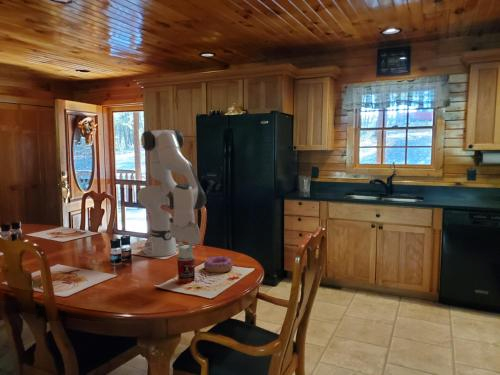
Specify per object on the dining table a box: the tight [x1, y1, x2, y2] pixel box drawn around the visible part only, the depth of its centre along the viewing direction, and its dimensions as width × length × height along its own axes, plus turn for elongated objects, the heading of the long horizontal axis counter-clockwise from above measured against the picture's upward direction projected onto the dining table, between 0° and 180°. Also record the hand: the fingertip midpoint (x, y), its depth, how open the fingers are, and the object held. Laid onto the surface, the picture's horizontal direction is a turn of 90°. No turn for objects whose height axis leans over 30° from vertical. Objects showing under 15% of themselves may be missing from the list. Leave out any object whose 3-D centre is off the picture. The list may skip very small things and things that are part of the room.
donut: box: [203, 255, 234, 274], centre depth 187 cm, size 14×14×5 cm
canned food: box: [177, 255, 196, 284], centre depth 172 cm, size 8×8×11 cm
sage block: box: [177, 244, 194, 259], centre depth 171 cm, size 5×5×5 cm
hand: (185, 250), depth 171 cm, fingers open, 6 cm apart
